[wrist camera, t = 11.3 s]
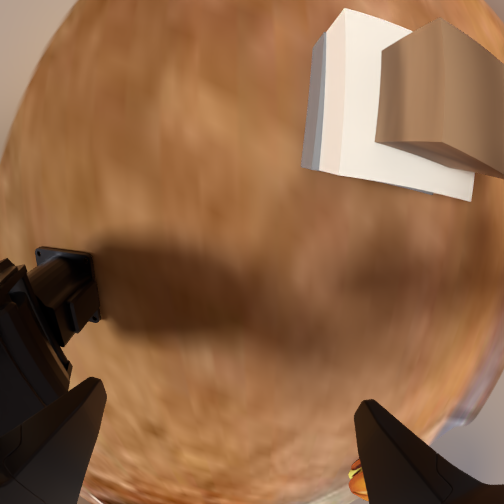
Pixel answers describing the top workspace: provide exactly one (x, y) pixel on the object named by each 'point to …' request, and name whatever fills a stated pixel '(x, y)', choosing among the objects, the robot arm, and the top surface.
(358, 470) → the cheeseburger
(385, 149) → the tower top slab
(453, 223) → the top surface
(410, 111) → the walnut block
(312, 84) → the tower base slab
